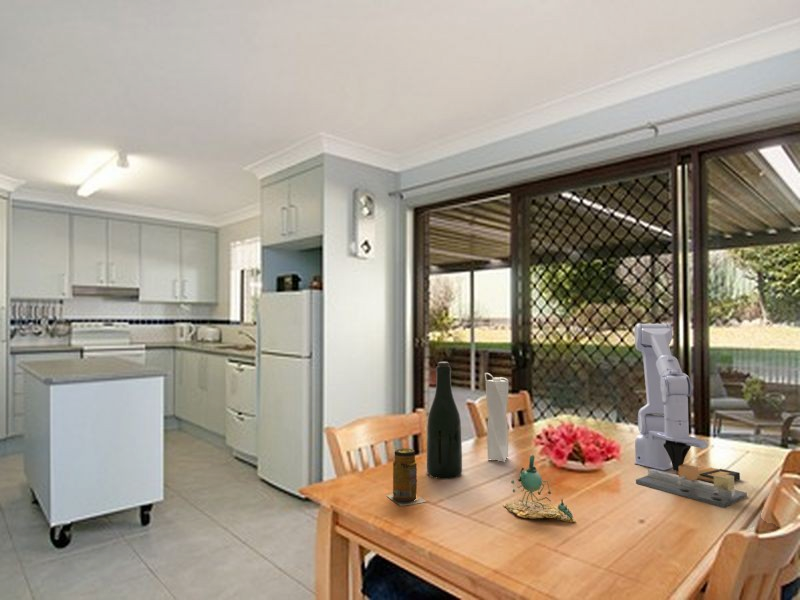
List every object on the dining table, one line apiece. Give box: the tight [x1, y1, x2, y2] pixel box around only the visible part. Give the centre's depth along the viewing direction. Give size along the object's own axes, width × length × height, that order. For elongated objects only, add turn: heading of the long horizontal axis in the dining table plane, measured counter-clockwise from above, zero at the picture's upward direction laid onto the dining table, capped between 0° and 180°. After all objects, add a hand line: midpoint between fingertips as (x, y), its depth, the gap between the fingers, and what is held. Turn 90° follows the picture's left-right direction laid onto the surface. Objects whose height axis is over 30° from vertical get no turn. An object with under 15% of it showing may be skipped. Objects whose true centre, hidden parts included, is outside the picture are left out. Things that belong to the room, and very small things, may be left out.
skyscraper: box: [484, 372, 509, 462], centre depth 161 cm, size 8×8×28 cm
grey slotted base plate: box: [635, 468, 748, 508], centre depth 131 cm, size 22×13×6 cm, turn 35°
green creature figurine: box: [502, 454, 577, 523], centre depth 115 cm, size 10×18×15 cm, turn 43°
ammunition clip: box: [677, 465, 741, 484], centre depth 141 cm, size 11×2×12 cm
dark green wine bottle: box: [426, 361, 463, 479], centre depth 146 cm, size 10×10×33 cm
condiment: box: [385, 447, 427, 507], centre depth 125 cm, size 7×8×12 cm
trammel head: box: [678, 463, 698, 486], centre depth 130 cm, size 3×7×4 cm, turn 124°
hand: (677, 470), depth 133 cm, fingers closed
